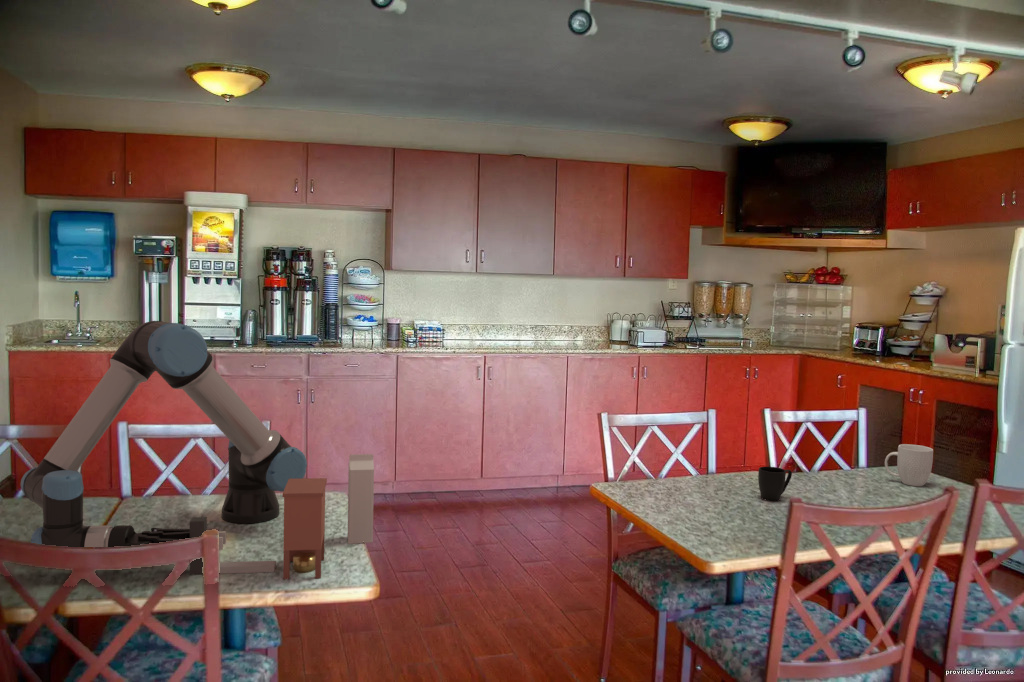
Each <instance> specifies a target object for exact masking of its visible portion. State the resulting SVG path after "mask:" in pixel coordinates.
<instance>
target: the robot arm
mask: <svg viewBox="0 0 1024 682" xmlns="http://www.w3.org/2000/svg"><path fill="white" fill-rule="evenodd" d="M213 362H214V357H213V355H212V354H211V352H209V350H208V345H207V342H206V340H205V338H204V336H203V335H202V334H201V333H200V332H199V331H198V330H197V329H195V328H193V327H192V326H190V325H187V324H184V323H180V322H179V323H178V322H167V321H163V320H162V321H160V320H150V321H146V322H144V323H142V324H140V325H138V326H136V328H135V329H133V330H132V331H131V332H130V333H129V334H128V335H127V337H126V338H125V339H124V340H123V341H122V343H121V344H120V346H119V347H118V348H117V350H116V351H115V352H114V353H113V355H112V356H111V357H110V359H109V364H110V367H109V368H108V369H107V371H106V372H105V374H104V375H103V376H102V377H101V379H100V381H98V383H97V384H96V386H95V387H94V388H93V390H92V391H91V392H90V394H89V395H88V397H87V398H86V400H85V401H84V402H83V404H82V405H81V407H80V408H79V409H78V411H77V412H76V414H75V415H74V416H73V418H72V419H71V420H70V421H69V423H68V425H67V426H66V427H65V429H64V430H63V432H61V435H60V436H59V437H58V439H56V441H55V442H54V443H53V445H52V446H51V447H50V449H49V451H48V452H47V453H46V455H45V456H44V458H43V459H42V460H41V461H40V463H39V464H38V465H37V466H35V467H32V468H30V469H28V471H26V472H25V473H23V476H22V477H21V479H20V488H21V491H22V494H24V496H26V498H27V499H28V500H29V501H30V502H31V503H35V504H36V505H37V506H38V507H40V508H41V509H42V518H43V520H42V521H43V523H42V526H39V527H37V528H35V530H34V531H33V533H32V534H31V537H30V543H37V544H45V545H56V546H68V547H114V546H131V545H140V544H149V543H159V542H166V541H173V540H179V539H185V538H190V528H161V527H151V529H150V530H143V531H141V532H136V531H135V528H134V526H132V525H131V524H127V525H126V524H125V525H118V524H117V525H114V526H112V525H109V524H107V525H87V526H86V525H84V490H85V487H84V483H83V475H82V473H81V472H80V471H79V469H80V467H81V466H82V465H83V464H84V462H85V461H86V459H87V458H88V456H89V455H90V454H91V452H92V451H93V450H94V448H95V447H96V446H97V445H98V443H99V441H100V440H101V439H102V437H103V435H104V434H105V433H106V431H107V430H108V429H109V427H110V426H111V425H112V423H113V422H114V420H115V419H116V418H117V416H118V414H119V413H120V412H121V411H122V409H123V408H124V406H125V405H126V403H127V402H128V400H129V399H130V398H131V396H132V395H133V393H134V392H135V391H136V389H137V388H138V387H139V386H140V384H141V383H146V382H148V381H149V379H150V378H151V376H152V375H153V374H154V373H155V372H157V374H159V376H160V377H161V378H162V379H163V380H164V381H165V382H166V383H167V384H168V385H169V386H170V387H171V389H173V390H182V391H183V392H185V394H186V395H187V396H188V397H189V398H190V399H191V400H192V401H193V402H194V403H195V404H196V406H197V407H198V408H199V409H200V410H201V412H203V413H204V414H205V415H206V417H207V418H208V419H210V420H211V422H213V424H214V425H215V426H216V427H217V428H218V429H219V430H220V431H221V433H223V435H224V436H225V437H226V438H227V439H228V447H227V450H228V490H227V492H226V495H225V499H224V501H223V505H222V508H221V519H222V520H224V521H225V522H228V523H234V524H255V523H263V522H267V521H271V520H274V519H275V518H277V517H279V515H280V503H279V501H278V497H277V495H276V492H280V493H281V492H282V493H283V491H284V489H285V487H286V484H287V482H288V480H289V479H301V478H304V477H305V475H306V473H307V467H308V462H307V457H306V455H305V454H304V452H302V451H301V450H300V449H299V448H298V447H295V446H291V445H290V443H288V441H287V440H286V439H285V438H284V437H283V435H281V433H280V432H279V431H277V430H275V429H268V428H267V427H266V425H265V424H264V423H263V422H262V421H261V420H260V419H259V417H258V416H257V415H256V414H255V413H254V412H253V411H252V410H251V408H250V407H249V406H248V405H247V404H246V403H245V402H244V400H243V399H242V398H241V397H240V396H239V394H238V393H237V392H236V391H235V389H233V388H232V386H231V385H229V384H228V382H227V381H226V380H225V379H224V377H222V375H221V374H220V373H219V372H218V371H217V369H215V367H214V366H213V364H214V363H213ZM218 532H219V550H218V551H222V550H223V549H224V545H226V544H227V531H225V530H224V531H218Z"/></svg>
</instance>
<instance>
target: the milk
mask: <svg viewBox="0 0 1024 682" xmlns="http://www.w3.org/2000/svg"><path fill="white" fill-rule="evenodd" d="M348 457H349V461H348V473H347V474H348V477H347V478H348V480H347V483H348V485H347V486H348V487H347V491H348V492H347V541H348V544H349V545H351V544H355V545H356V544H371V543H373V542H374V541H373V540H374V536H373V535H374V493H375V492H374V491H375V490H374V489H375V487H374V486H375V485H374V484H375V468H374V467H375V466H374V454H373V453H370V454H369V453H365V454H363V453H361V454H349V455H348ZM363 541H364V543H363Z"/></svg>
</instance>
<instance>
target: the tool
mask: <svg viewBox="0 0 1024 682" xmlns="http://www.w3.org/2000/svg"><path fill="white" fill-rule="evenodd" d="M189 529H190V538H194V537H199V536H201V535H202V533H203V532H204V531H206V530H207V531H208V517H207V516H194V517H193V516H192V517H191V519H190V520H189ZM219 562H220V574H219V575H222V574H250V573H251V574H252V573H253V574H254V573H275V570H276V568H277V560H258V561H257V560H254V561H252V560H250V561H219ZM202 567H203V562H202V558H200V559H196V560H194V561H192V562H191V563H190V562H189V575H190V576H191V575H203V574H202Z"/></svg>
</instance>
